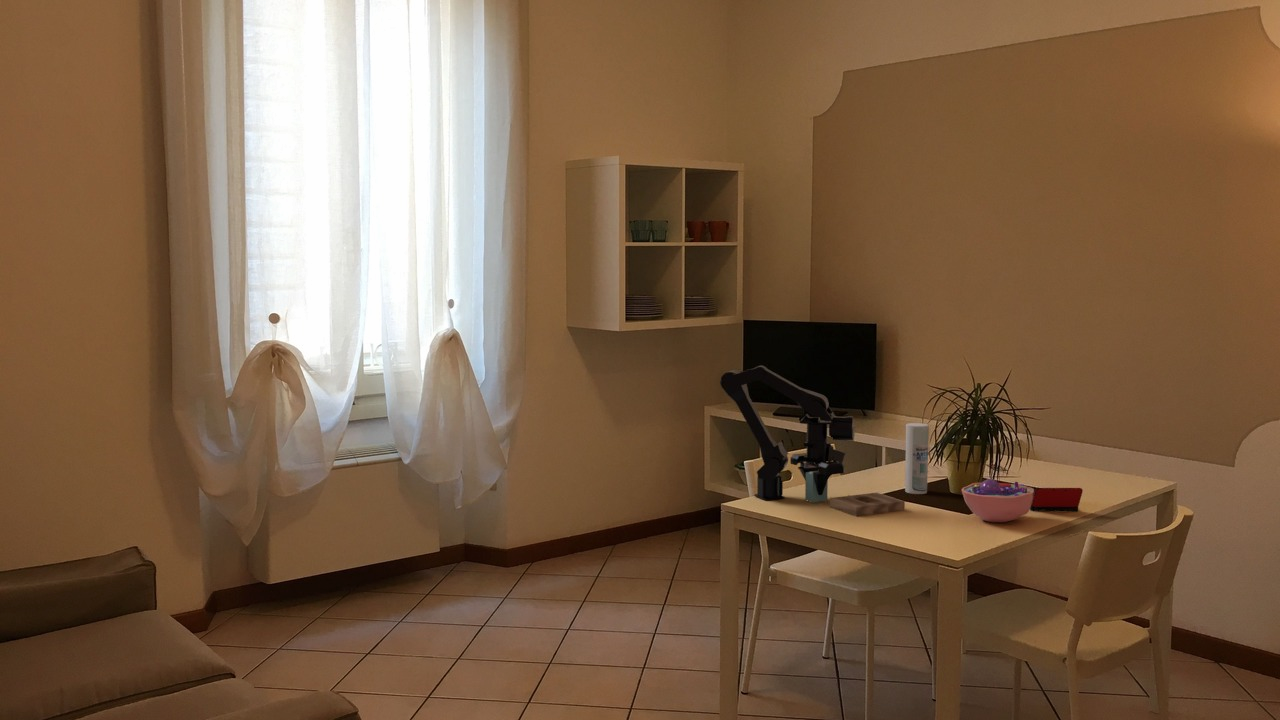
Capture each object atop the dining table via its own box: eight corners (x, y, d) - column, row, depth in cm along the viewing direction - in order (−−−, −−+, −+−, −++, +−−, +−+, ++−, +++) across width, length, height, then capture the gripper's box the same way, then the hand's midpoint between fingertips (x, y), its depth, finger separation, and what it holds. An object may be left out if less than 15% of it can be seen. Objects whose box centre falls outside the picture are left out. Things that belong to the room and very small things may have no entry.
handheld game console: (1068, 506, 280) (1069, 479, 280) (1083, 515, 269) (1083, 488, 269) (1022, 505, 281) (1023, 479, 280) (1034, 515, 270) (1035, 487, 270)
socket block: (856, 516, 269) (856, 507, 268) (829, 506, 279) (829, 497, 279) (904, 510, 275) (904, 501, 275) (876, 501, 286) (877, 492, 286)
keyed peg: (812, 502, 284) (812, 473, 284) (805, 500, 288) (805, 471, 287) (827, 501, 286) (827, 471, 286) (820, 498, 290) (820, 469, 289)
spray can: (917, 488, 302) (918, 422, 300) (932, 492, 296) (933, 425, 295) (900, 490, 299) (901, 423, 298) (914, 495, 294) (916, 426, 292)
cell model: (1050, 522, 262) (1052, 479, 261) (997, 532, 252) (998, 487, 251) (998, 509, 276) (999, 468, 275) (945, 518, 266) (946, 475, 265)
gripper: (860, 442, 280) (859, 497, 282) (821, 432, 297) (821, 484, 299) (827, 445, 276) (826, 501, 277) (789, 435, 293) (789, 488, 294)
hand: (816, 493), depth 287 cm, fingers closed on keyed peg, 4 cm apart
